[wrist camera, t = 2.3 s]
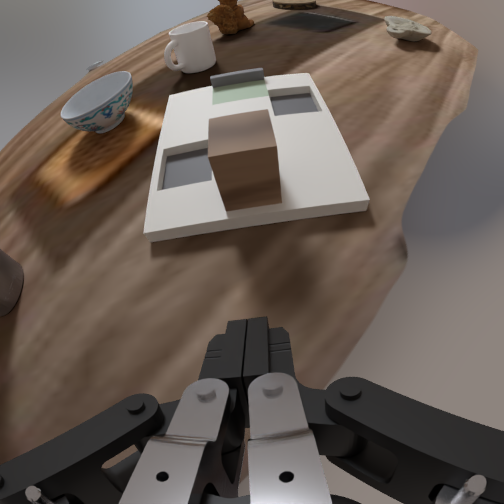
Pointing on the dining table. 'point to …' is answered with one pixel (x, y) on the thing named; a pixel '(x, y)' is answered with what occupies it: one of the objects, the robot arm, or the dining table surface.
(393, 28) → the oil lamp
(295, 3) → the wood slice
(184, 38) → the mug
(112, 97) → the chinaware
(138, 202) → the dining table surface
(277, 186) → the block
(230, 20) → the stuffed squirrel
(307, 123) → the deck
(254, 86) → the pad
